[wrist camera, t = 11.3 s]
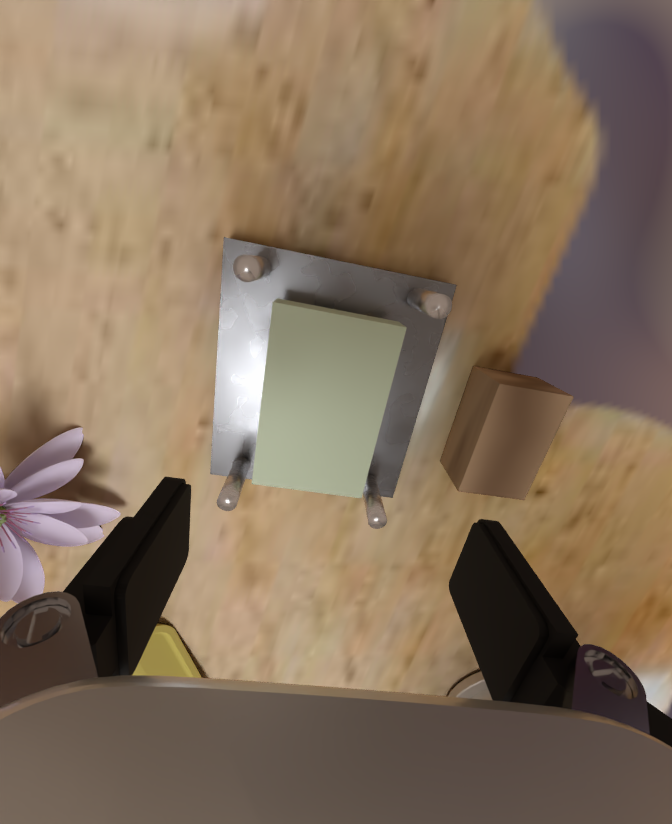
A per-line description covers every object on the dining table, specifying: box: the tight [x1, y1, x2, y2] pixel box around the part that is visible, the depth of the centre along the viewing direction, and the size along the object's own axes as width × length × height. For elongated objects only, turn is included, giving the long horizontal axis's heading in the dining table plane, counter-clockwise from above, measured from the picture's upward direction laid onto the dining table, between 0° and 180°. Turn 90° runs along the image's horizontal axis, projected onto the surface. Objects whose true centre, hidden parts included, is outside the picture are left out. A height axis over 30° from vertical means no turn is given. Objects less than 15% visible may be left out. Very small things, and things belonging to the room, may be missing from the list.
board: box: [252, 298, 407, 498], centre depth 21 cm, size 7×11×2 cm, turn 169°
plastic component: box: [132, 624, 202, 678], centre depth 36 cm, size 20×7×10 cm
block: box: [440, 366, 573, 500], centre depth 25 cm, size 5×8×4 cm, turn 169°
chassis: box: [210, 237, 457, 529], centre depth 22 cm, size 14×16×6 cm
